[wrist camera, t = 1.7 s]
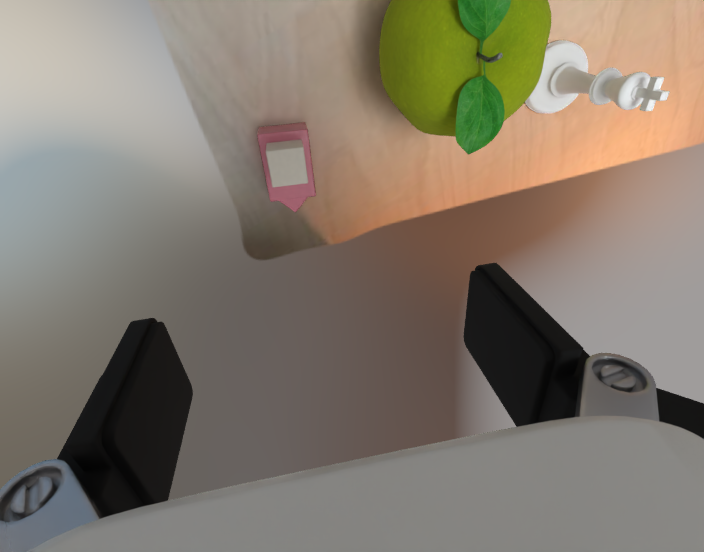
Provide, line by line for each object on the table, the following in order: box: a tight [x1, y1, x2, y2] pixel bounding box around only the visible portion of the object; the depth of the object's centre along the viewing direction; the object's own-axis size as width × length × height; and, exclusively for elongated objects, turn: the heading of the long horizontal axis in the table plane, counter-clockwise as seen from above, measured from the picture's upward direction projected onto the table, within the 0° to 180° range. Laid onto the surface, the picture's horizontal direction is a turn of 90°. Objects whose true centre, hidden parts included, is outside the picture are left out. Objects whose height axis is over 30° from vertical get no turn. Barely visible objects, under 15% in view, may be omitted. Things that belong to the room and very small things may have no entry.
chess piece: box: [525, 40, 670, 113], centre depth 25 cm, size 5×5×10 cm
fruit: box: [379, 0, 551, 154], centre depth 22 cm, size 9×9×10 cm
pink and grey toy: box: [257, 122, 316, 212], centre depth 27 cm, size 6×3×5 cm, turn 4°
